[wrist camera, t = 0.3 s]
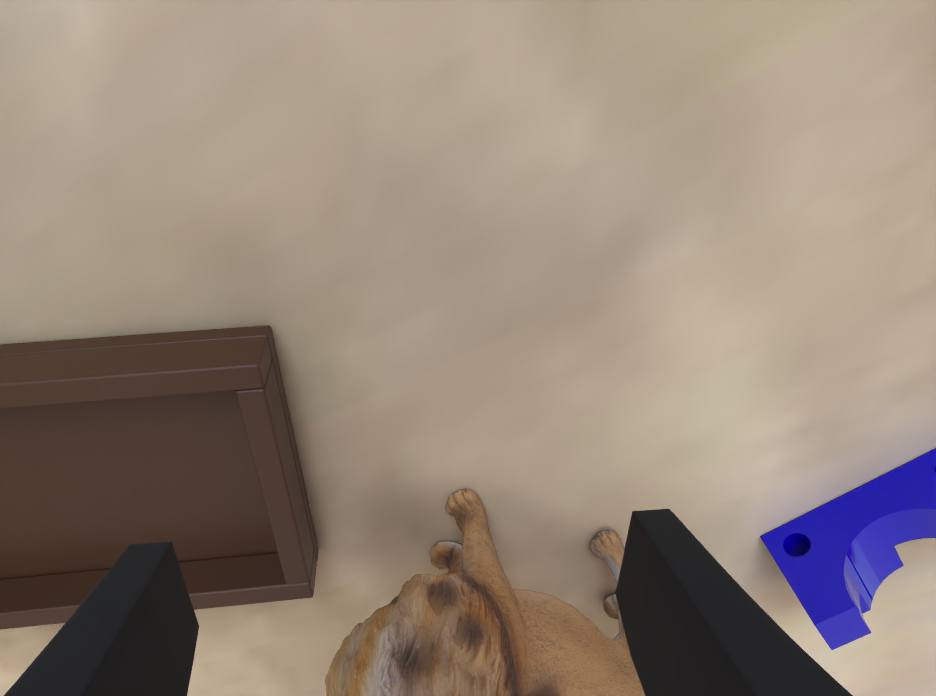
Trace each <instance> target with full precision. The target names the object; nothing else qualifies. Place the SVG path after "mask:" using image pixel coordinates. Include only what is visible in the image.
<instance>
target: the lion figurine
mask: <svg viewBox="0 0 936 696" xmlns="http://www.w3.org/2000/svg"><path fill="white" fill-rule="evenodd" d="M446 511H447V512H448V513H449V514H450V515H453V516H454V517H455V519H456V522H457V525H458V527H459V528H460V530H461V531H462V533H463V537H464V538H463V546H462V545H461V544H458V543H455V542H449V541H444V542H439V543H437V544H436V545H435V546H434V547H432V548H431V550H430V557H431V563H432V564H433V565H434V566H436V567H438V568H439V569H447V568H449V573H447V574H443V575H440V576H432V575H430V574H427V575H421V574H417V575H415V576H413V577H412V578H411V580H410V581H407V582H405V584H404V585H403V588H402V591H401V592H400V594H399V595H398V596H397V597H395V598H394V599H393V600H392V602H391V603H390V604H388V605H387V606H384V607H382V608H380V609H378V610H376V611H375V612H374V613H373V614H372V616H371V617H370V618H368V619H366V620H365V622H364V623H359V624H357V625H356V626H355V627H354V629H353V630H352V632H351V633H350V634H349V635H348V636H347V637H346V638H345V639H344V640H343V643H342V645H341V647H340V649H339V651H338V652H337V653H336V655H335V657H334V659H333V661H332V664H331V666H330V669H329V671H328V674H327V676H326V680H325V683H326V692H327V696H645V694H644V691H643V688H642V685H641V683H640V680H639V677H638V675H637V672H636V669H635V666H634V663H633V661H632V658H631V655H630V651H629V647H628V643H627V639H626V635H625V632H624V628H623V624H622V619H621V615H620V611H619V607H618V603H617V598H616V594H614V595H612V596H609V597H607V598H606V599H605V601H604V604H603V607H604V610H605V612H606V613H607V615H608V616H609V617H611V618H615V619H618V620H619V633H618V635H617V636H616V637H615V638H613V639H610V638H608V637H606V636H605V635H604V634H603V633H602V632H601V631H600V630H599V629H598V628H597V627H596V626H595V625H594V624H593V623H592V622H591V621H590V620H589V619H588V618H586V617H585V616H584V615H583V614H581V613H580V612H579V611H578V610H577V609H576V608H574V607H573V606H572V605H570V604H568V603H566V602H564V601H562V600H560V599H558V598H555V597H553V596H550V595H547V594H544V593H539V592H533V591H526V590H516V589H512V588H511V585H510V583H509V581H508V579H507V577H506V575H505V573H504V571H503V569H502V567H501V564H500V562H499V559H498V555H497V552H496V549H495V547H494V543H493V540H492V537H491V533H490V529H489V526H488V521H487V516H486V513H485V510H484V507H483V504H482V502H481V500H480V498H479V496H478V495H477V494H476V493H475V492H474V491H472V490H469V489H463V490H459V491H456V492H454V493H453V494H451V495H450V496H449V498H448V502H447V504H446ZM590 546H591V550H592V552H593V553H594V555H595V556H597V557H599V558H601V559H602V560H604V561H605V562H606V563H607V564H608V565H609V566H610V568H611V570H612V572H613V574H614V576H615V578H616V581H617V584H618V579H619V574H620V569H621V564H622V560H623V555H624V546H623V544H622V541H621V539H620V538H619V536H618V535H617V534H616V533H615V532H613V531H601V532H600V533H598V534H597V535H596V536H595V538H594V539H593V540H592V541H591V543H590Z"/></svg>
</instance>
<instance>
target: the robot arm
mask: <svg viewBox="0 0 936 696" xmlns="http://www.w3.org/2000/svg"><path fill="white" fill-rule="evenodd" d="M615 594H616V598H617V603H618V607H619V611H620V615H621V619H622V624H623V628H624V632H625V635H626V639H627V643H628V647H629V651H630V655H631V658H632V661H633V663H634V666H635V669H636V672H637V675H638V677H639V680H640V683H641V685H642V688H643V691H644V694H645V696H852V695H851V694H850V693H849V692H848V691H847V690H846V689H845V688H844V687H842V686H841V685H840V684H839V683H838V682H837V681H836V680H835V679H834V678H833V677H831V676H830V675H829V674H828V673H827V672H826V671H825V670H824V669H823V668H822V667H821V666H820V665H819V664H818V663H817V662H815V661H814V660H813V659H812V658H811V657H810V656H809V655H808V654H807V653H806V652H805V651H804V650H803V649H802V648H801V647H800V646H799V645H798V644H797V643H796V642H795V641H794V640H793V639H791V638H790V637H789V636H788V635H787V634H786V633H785V632H784V631H783V630H782V629H781V628H780V627H779V626H778V625H777V624H776V623H775V622H774V620H773V619H772V618H771V617H770V616H769V615H768V614H767V613H766V612H765V611H764V610H763V609H762V608H761V607H760V606H759V605H758V604H757V603H756V602H755V601H754V600H753V599H752V598H751V597H750V596H749V595H748V594H747V593H746V592H745V591H744V590H743V589H742V588H741V587H740V585H739V584H738V583H737V582H736V581H735V580H734V579H733V578H732V577H731V576H730V575H729V574H728V573H727V572H726V570H725V569H724V568H723V567H722V566H721V565H720V564H719V563H718V562H717V561H716V560H715V559H714V557H713V556H712V555H711V554H710V553H709V552H708V551H707V550H706V549H705V548H704V546H703V545H702V544H701V543H700V542H699V541H698V540H697V539H696V538H695V536H694V535H693V534H692V533H691V532H690V531H689V530H688V529H687V528H686V527H685V525H684V524H683V523H682V522H681V521H680V520H679V519H678V518H677V517H676V516H675V514H674V513H673V512H672V511H671V510H669V509H661V510H646V511H633V512H632V516H631V521H630V526H629V531H628V536H627V540H626V545H625V550H624V555H623V560H622V564H621V569H620V574H619V579H618V584H617V589H616V593H615ZM198 629H199V625H198V622H197V619H196V615H195V612H194V609H193V606H192V603H191V600H190V597H189V593H188V590H187V587H186V584H185V581H184V578H183V575H182V572H181V568H180V565H179V562H178V559H177V556H176V553H175V550H174V546H173V543H172V542H160V543H145V544H130V545H129V546H128V547H127V548H126V549H125V550H124V551H123V553H122V554H121V555H120V556H119V558H118V559H117V560H116V561H115V563H114V564H113V565H112V566H111V568H110V569H109V570H108V571H107V573H106V574H105V575H104V576H103V578H102V579H101V580H100V581H99V583H98V584H97V585H96V586H95V588H94V589H93V590H92V591H91V593H90V594H89V595H88V596H87V598H86V599H85V600H84V601H83V602H82V604H81V605H80V606H79V607H78V609H77V610H76V611H75V612H74V614H73V615H72V616H71V617H70V618H69V620H68V621H67V622H66V623H65V625H64V626H63V627H62V628H61V629H60V631H59V632H58V633H57V634H56V635H55V637H54V638H53V639H52V640H51V641H50V642H49V644H48V645H47V646H46V647H45V648H44V650H43V651H42V652H41V653H40V654H39V655H38V657H37V658H36V659H35V660H34V661H33V662H32V664H31V665H30V666H29V667H28V668H27V670H26V671H25V672H24V673H23V674H22V675H21V677H20V678H19V679H18V680H17V681H16V682H15V684H14V685H13V686H12V687H11V688H10V689H9V690H8V692H7V693H6V694H5V695H4V696H187V692H188V686H189V681H190V676H191V670H192V665H193V659H194V653H195V647H196V641H197V635H198Z"/></svg>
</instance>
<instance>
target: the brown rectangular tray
mask: <svg viewBox="0 0 936 696" xmlns="http://www.w3.org/2000/svg"><path fill="white" fill-rule="evenodd" d="M160 542H172V543H173V546H174V550H175V553H176V556H177V559H178V562H179V565H180V568H181V572H182V575H183V578H184V581H185V584H186V587H187V590H188V593H189V597H190V600H191V603H192V606H193V609H194V610H195V609H204V608H214V607H224V606H234V605H244V604H253V603H263V602H273V601H283V600H293V599H303V598H311V597H313V594H314V585H315V575H316V566H317V559H318V546H317V541H316V536H315V532H314V527H313V522H312V518H311V513H310V508H309V504H308V499H307V494H306V490H305V485H304V480H303V476H302V471H301V466H300V462H299V457H298V452H297V448H296V443H295V438H294V434H293V429H292V424H291V420H290V415H289V410H288V406H287V401H286V396H285V392H284V387H283V382H282V378H281V373H280V369H279V364H278V359H277V355H276V350H275V345H274V341H273V336H272V331H271V327H270V326H255V327H241V328H227V329H213V330H199V331H186V332H172V333H158V334H144V335H130V336H116V337H102V338H88V339H74V340H60V341H46V342H32V343H18V344H4V345H0V629H8V628H18V627H28V626H38V625H48V624H57V623H66V622H67V621H68V620H69V618H70V617H71V616H72V615H73V614H74V612H75V611H76V610H77V609H78V607H79V606H80V605H81V604H82V602H83V601H84V600H85V599H86V598H87V596H88V595H89V594H90V593H91V591H92V590H93V589H94V588H95V586H96V585H97V584H98V583H99V581H100V580H101V579H102V578H103V576H104V575H105V574H106V573H107V571H108V570H109V569H110V568H111V566H112V565H113V564H114V563H115V561H116V560H117V559H118V558H119V556H120V555H121V554H122V553H123V551H124V550H125V549H126V548H127V547H128V546H129V545H130V544H145V543H160Z"/></svg>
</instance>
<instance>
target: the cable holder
mask: <svg viewBox="0 0 936 696" xmlns="http://www.w3.org/2000/svg"><path fill="white" fill-rule="evenodd" d="M921 538H936V449H934V450H932V451H930V452H928V453H926V454H924V455H922V456H920V457H918V458H916V459H914V460H912V461H910V462H908V463H906V464H904V465H902V466H900V467H898V468H896V469H894V470H892V471H891V472H889V473H887V474H885V475H883V476H881V477H879V478H877V479H875V480H873V481H871V482H869V483H867V484H865V485H863V486H861V487H859V488H857V489H855V490H853V491H851V492H849V493H847V494H845V495H843V496H841V497H839V498H837V499H835V500H833V501H831V502H829V503H827V504H825V505H823V506H821V507H819V508H817V509H815V510H813V511H811V512H809V513H807V514H805V515H803V516H801V517H799V518H797V519H795V520H793V521H791V522H789V523H787V524H785V525H783V526H781V527H779V528H777V529H775V530H773V531H771V532H769V533H767V534H765V535H763V536H761V539H762V540H763V542H764V543H765V545H766V547H767V548H768V550H769V552H770V553H771V555H772V556H773V558H774V560H775V561H776V563H777V565H778V566H779V568H780V570H781V571H782V573H783V574H784V576H785V578H786V579H787V581H788V583H789V584H790V586H791V587H792V589H793V591H794V592H795V594H796V596H797V597H798V599H799V601H800V602H801V604H802V605H803V607H804V609H805V610H806V612H807V614H808V615H809V617H810V618H811V620H812V622H813V623H814V625H815V626H816V628H817V629H818V631H819V632H820V634H821V635H822V637H823V638H824V640H825V641H826V643H827V644H828V645H829V647H830V648H831V650H833V649H836V648H838V647H840V646H842V645H845V644H847V643H849V642H851V641H854V640H856V639H858V638H860V637H863V636H865V635H867V634H869V633H871V631H870V630H869V628H868V626H867V625H866V622H865V620H864V618H863V615H862V613H865V612H867V611H869V610H870V609H871V603H872V600H873V596H874V594H875V592H876V590H877V588H878V587H879V585H880V584H881V583H882V581H883V580H884V579H885V578H886V577H887V576H888V575H890V574H891V573H892V572H894V571H895V570H897V569H898V568H900V567H902V566H903V563H902V561H901V559H900V557H899V555H898V553H897V551H896V549H895V547H894V546H895V545H897V544H900V543H903V542H906V541H910V540H915V539H921Z"/></svg>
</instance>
